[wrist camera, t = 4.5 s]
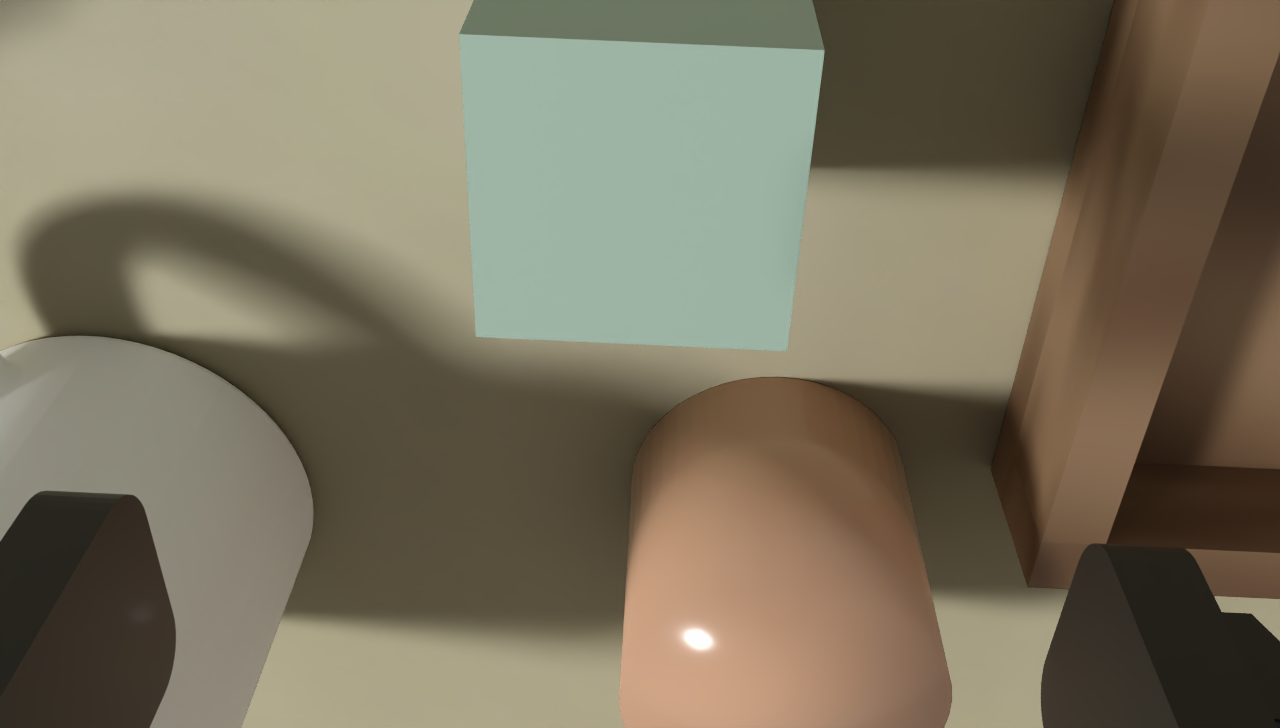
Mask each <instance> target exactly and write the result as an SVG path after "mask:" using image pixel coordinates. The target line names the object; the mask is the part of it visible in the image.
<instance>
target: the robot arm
mask: <svg viewBox="0 0 1280 728" xmlns="http://www.w3.org/2000/svg"><path fill="white" fill-rule="evenodd" d="M175 649H176V627H175V619H174V614H173V611H172V607H171V603H170V600H169V596H168V592H167V589H166V585H165V581H164V578H163V574H162V570H161V567H160V563H159V559H158V555H157V552H156V548H155V544H154V541H153V537H152V533H151V530H150V526H149V522H148V519H147V515H146V512H145V509H144V507H143V505H142V503H141V501H140V500H139V499H138V498H137V497H135V496H134V495H129V494H109V493H88V492H67V491H41V492H39V493H37V494H35V495H34V496H33V497H32V498H30V499H29V500H28V502H27V503H26V504H25V506H24V507H23V508H22V510H21V511H20V513H19V514H18V516H17V517H16V519H15V520H14V522H13V523H12V525H11V526H10V528H9V529H8V531H7V532H6V534H5V535H4V537H3V538H2V540H1V541H0V728H150V726H151V723H152V721H153V719H154V717H155V714H156V712H157V710H158V708H159V706H160V703H161V701H162V699H163V697H164V694H165V692H166V689H167V687H168V684H169V680H170V677H171V673H172V669H173V664H174V658H175ZM1041 711H1042V720H1043V727H1044V728H1280V641H1279V640H1278V639H1277V638H1276V637H1275V636H1274V635H1273V634H1272V633H1271V632H1269V631H1268V630H1267V629H1266V628H1265V627H1264V626H1263V625H1262V624H1261V623H1260V622H1259V621H1258V620H1257V619H1256V618H1255V617H1254V616H1253V615H1252V614H1246V613H1225V612H1221V610H1220V608H1219V606H1218V604H1217V602H1216V600H1215V598H1214V596H1213V594H1212V592H1211V590H1210V588H1209V585H1208V583H1207V581H1206V579H1205V577H1204V575H1203V573H1202V571H1201V569H1200V567H1199V565H1198V563H1197V562H1196V560H1195V558H1194V557H1193V556H1192V554H1191V553H1190V552H1188V551H1187V550H1186V549H1184V548H1181V547H1163V546H1141V545H1120V544H1099V543H1093V544H1090V545H1088V546H1087V547H1086V548H1085V550H1084V551H1083V553H1082V555H1081V557H1080V559H1079V562H1078V565H1077V568H1076V571H1075V574H1074V577H1073V580H1072V583H1071V586H1070V589H1069V592H1068V595H1067V598H1066V601H1065V604H1064V606H1063V609H1062V612H1061V615H1060V618H1059V621H1058V624H1057V627H1056V630H1055V633H1054V636H1053V639H1052V642H1051V645H1050V648H1049V651H1048V654H1047V657H1046V660H1045V664H1044V668H1043V674H1042V682H1041Z"/></svg>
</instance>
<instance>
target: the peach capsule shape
mask: <svg viewBox="0 0 1280 728" xmlns="http://www.w3.org/2000/svg"><path fill="white" fill-rule="evenodd" d="M619 698H620V712H621V716H622V720H623V724H624V726H625V728H944V726H945V724H946V721H947V719H948V716H949V713H950V708H951V703H952V685H951V680H950V676H949V671H948V667H947V662H946V658H945V653H944V648H943V644H942V639H941V635H940V630H939V626H938V621H937V617H936V612H935V608H934V603H933V599H932V594H931V590H930V585H929V581H928V576H927V572H926V567H925V563H924V558H923V554H922V549H921V545H920V540H919V536H918V531H917V527H916V522H915V518H914V513H913V509H912V504H911V500H910V495H909V491H908V486H907V482H906V477H905V473H904V468H903V464H902V459H901V455H900V451H899V449H898V446H897V444H896V442H895V439H894V438H893V436H892V434H891V433H890V431H889V430H888V428H887V427H886V426H885V424H884V423H883V422H882V421H881V420H880V419H879V418H878V416H877V415H875V414H874V413H873V412H872V411H871V410H870V409H868V408H867V407H866V406H865V405H863V404H862V403H860V402H859V401H857V400H856V399H854V398H853V397H851V396H849V395H847V394H845V393H843V392H841V391H838V390H836V389H834V388H831V387H828V386H825V385H822V384H819V383H815V382H810V381H806V380H801V379H792V378H783V377H761V378H752V379H743V380H739V381H734V382H729V383H725V384H722V385H719V386H716V387H713V388H710V389H707V390H705V391H703V392H701V393H698V394H696V395H694V396H692V397H690V398H689V399H687V400H685V401H684V402H682V403H680V404H679V405H677V406H676V407H675V408H673V409H672V410H671V411H670V412H668V413H667V414H666V415H665V416H664V417H663V418H662V419H661V420H660V421H659V422H658V423H657V424H656V425H655V426H654V427H653V428H652V430H651V431H650V432H649V434H648V435H647V437H646V438H645V439H644V441H643V443H642V445H641V447H640V449H639V451H638V454H637V457H636V460H635V464H634V468H633V476H632V489H631V507H630V524H629V541H628V558H627V576H626V593H625V610H624V628H623V645H622V662H621V679H620V697H619Z"/></svg>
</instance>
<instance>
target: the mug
mask: <svg viewBox="0 0 1280 728" xmlns="http://www.w3.org/2000/svg"><path fill="white" fill-rule="evenodd" d="M41 491H67V492H88V493H109V494H129V495H134V496H135V497H137V498H138V499H139V500H140V501H141V503H142V505H143V507H144V509H145V512H146V515H147V519H148V522H149V526H150V530H151V533H152V537H153V541H154V544H155V548H156V552H157V555H158V559H159V563H160V567H161V570H162V574H163V578H164V581H165V585H166V589H167V592H168V596H169V600H170V603H171V607H172V611H173V614H174V619H175V627H176V649H175V658H174V664H173V669H172V673H171V677H170V680H169V684H168V687H167V689H166V692H165V694H164V697H163V699H162V701H161V703H160V706H159V708H158V710H157V712H156V714H155V717H154V719H153V721H152V723H151V726H150V728H241V727H242V724H243V721H244V719H245V716H246V713H247V711H248V708H249V705H250V702H251V700H252V697H253V694H254V692H255V689H256V686H257V683H258V681H259V678H260V675H261V673H262V670H263V667H264V664H265V662H266V659H267V656H268V653H269V651H270V648H271V645H272V643H273V640H274V637H275V634H276V632H277V629H278V626H279V624H280V621H281V618H282V615H283V613H284V610H285V607H286V605H287V602H288V599H289V596H290V594H291V591H292V588H293V586H294V583H295V580H296V577H297V575H298V572H299V569H300V567H301V564H302V561H303V558H304V556H305V553H306V550H307V547H308V544H309V542H310V538H311V533H312V528H313V516H314V513H313V500H312V494H311V488H310V485H309V481H308V478H307V475H306V472H305V470H304V468H303V465H302V463H301V461H300V459H299V457H298V455H297V453H296V451H295V449H294V448H293V446H292V445H291V443H290V442H289V440H288V439H287V437H286V436H285V435H284V433H283V432H282V431H281V429H280V428H279V427H278V426H277V424H276V423H275V422H274V421H273V420H272V419H271V418H270V417H269V416H268V415H267V414H266V412H265V411H263V410H262V409H261V408H260V407H259V406H258V405H257V404H256V403H255V402H254V401H253V400H251V399H250V398H249V397H248V396H246V395H245V394H244V393H243V392H241V391H240V390H239V389H237V388H236V387H235V386H233V385H232V384H230V383H229V382H227V381H226V380H224V379H223V378H221V377H219V376H218V375H216V374H214V373H213V372H211V371H209V370H207V369H205V368H203V367H201V366H200V365H198V364H196V363H194V362H192V361H189V360H187V359H185V358H182V357H180V356H177V355H175V354H172V353H169V352H167V351H164V350H161V349H158V348H155V347H151V346H148V345H144V344H140V343H136V342H131V341H126V340H122V339H115V338H107V337H97V336H61V337H50V338H44V339H38V340H33V341H29V342H25V343H22V344H18V345H15V346H12V347H10V348H7V349H5V350H2V351H0V541H1V540H2V538H3V537H4V535H5V534H6V532H7V531H8V529H9V528H10V526H11V525H12V523H13V522H14V520H15V519H16V517H17V516H18V514H19V513H20V511H21V510H22V508H23V507H24V506H25V504H26V503H27V502H28V500H29V499H30V498H32V497H33V496H34V495H35V494H37V493H39V492H41Z"/></svg>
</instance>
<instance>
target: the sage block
mask: <svg viewBox="0 0 1280 728" xmlns="http://www.w3.org/2000/svg"><path fill="white" fill-rule="evenodd" d="M459 42H460V60H461V78H462V96H463V114H464V132H465V150H466V168H467V185H468V203H469V221H470V239H471V257H472V275H473V293H474V311H475V329H476V337H490V338H512V339H533V340H555V341H577V342H598V343H620V344H642V345H663V346H685V347H707V348H728V349H750V350H772V351H787V346H788V338H789V330H790V322H791V314H792V306H793V298H794V290H795V282H796V274H797V266H798V258H799V251H800V243H801V235H802V227H803V219H804V211H805V203H806V195H807V187H808V179H809V171H810V163H811V156H812V148H813V140H814V132H815V124H816V116H817V108H818V100H819V92H820V84H821V76H822V68H823V61H824V53H825V49H824V45H823V41H822V37H821V33H820V29H819V25H818V21H817V17H816V13H815V9H814V5H813V1H812V0H474V1H473V4H472V6H471V8H470V11H469V13H468V15H467V17H466V20H465V22H464V24H463V26H462V29H461V31H460V33H459Z"/></svg>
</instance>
